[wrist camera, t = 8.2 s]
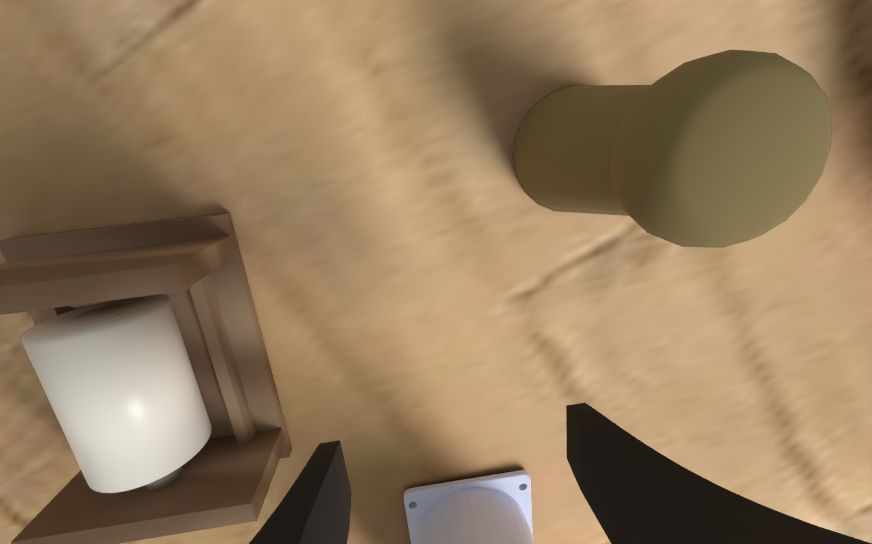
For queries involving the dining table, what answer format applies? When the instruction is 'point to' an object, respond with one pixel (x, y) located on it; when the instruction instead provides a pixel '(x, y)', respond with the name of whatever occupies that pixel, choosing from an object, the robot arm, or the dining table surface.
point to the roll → (121, 389)
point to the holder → (209, 355)
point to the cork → (683, 148)
